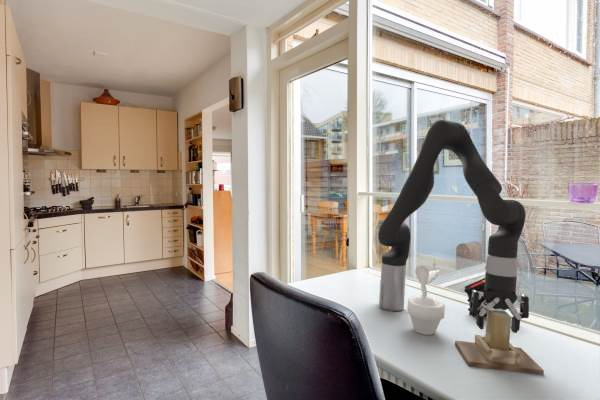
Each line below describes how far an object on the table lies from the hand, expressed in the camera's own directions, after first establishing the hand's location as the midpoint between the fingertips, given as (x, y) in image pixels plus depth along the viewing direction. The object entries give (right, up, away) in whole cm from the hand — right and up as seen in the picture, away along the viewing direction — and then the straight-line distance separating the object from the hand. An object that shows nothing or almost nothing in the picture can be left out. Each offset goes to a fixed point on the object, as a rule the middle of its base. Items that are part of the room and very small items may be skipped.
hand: (497, 330), depth 96 cm
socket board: (0, -8, 0) cm, 8 cm away
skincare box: (-1, -7, 0) cm, 7 cm away
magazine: (+14, -8, +34) cm, 37 cm away
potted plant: (-14, -7, +17) cm, 23 cm away
